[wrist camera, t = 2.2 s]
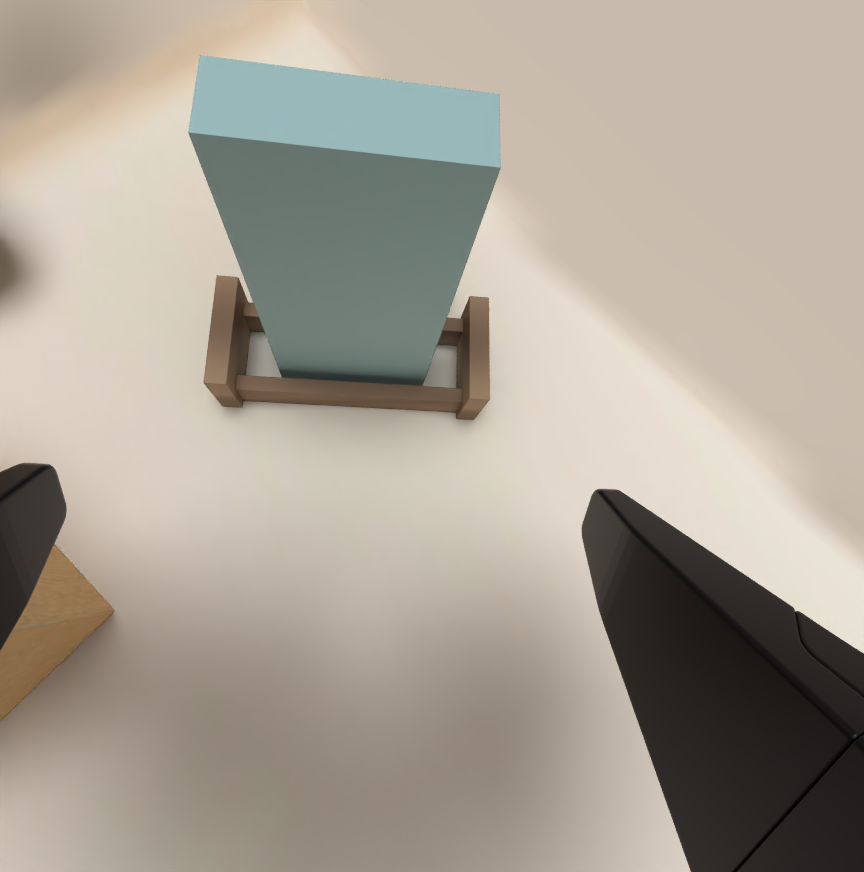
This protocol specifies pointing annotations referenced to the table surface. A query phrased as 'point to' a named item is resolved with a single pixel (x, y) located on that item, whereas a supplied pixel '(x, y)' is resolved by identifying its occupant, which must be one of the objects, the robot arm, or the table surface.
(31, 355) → the table surface
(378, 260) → the teal rectangular block
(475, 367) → the rack
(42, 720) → the table surface
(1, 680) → the sandwich container
